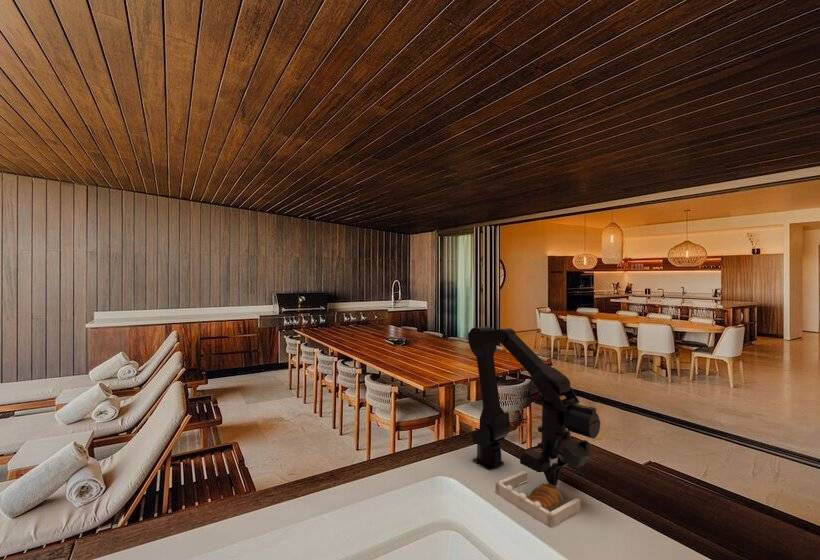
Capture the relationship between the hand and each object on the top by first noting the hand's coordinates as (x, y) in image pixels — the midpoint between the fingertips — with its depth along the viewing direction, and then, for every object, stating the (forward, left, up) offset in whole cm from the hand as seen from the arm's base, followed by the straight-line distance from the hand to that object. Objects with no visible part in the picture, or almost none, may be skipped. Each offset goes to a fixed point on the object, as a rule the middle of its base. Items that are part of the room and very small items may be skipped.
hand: (552, 487), depth 95 cm
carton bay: (0, -6, -2) cm, 6 cm away
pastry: (+2, -6, -2) cm, 6 cm away
